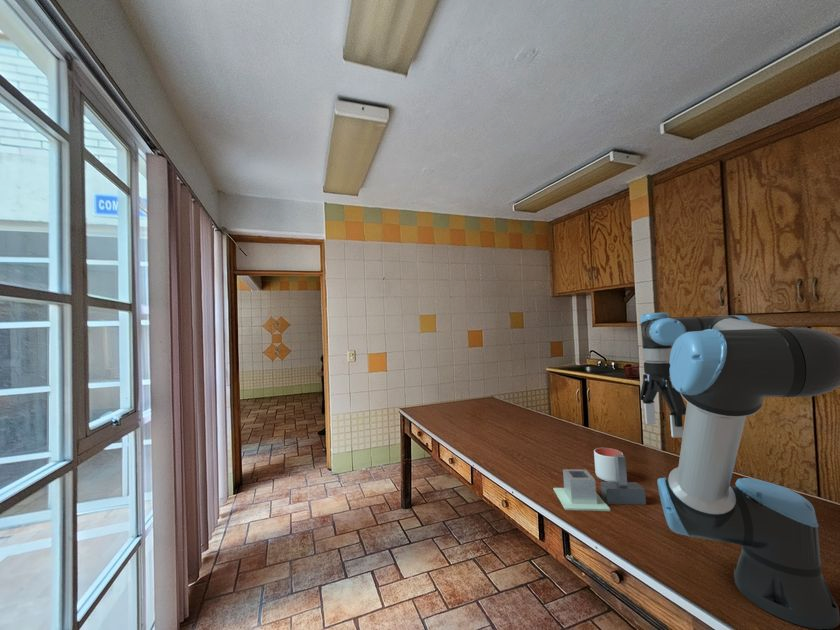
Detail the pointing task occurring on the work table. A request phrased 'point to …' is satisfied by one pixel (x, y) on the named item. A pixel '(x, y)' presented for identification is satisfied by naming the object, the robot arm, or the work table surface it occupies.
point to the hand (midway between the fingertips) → (663, 430)
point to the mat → (583, 507)
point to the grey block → (622, 487)
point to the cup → (605, 463)
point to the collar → (579, 486)
